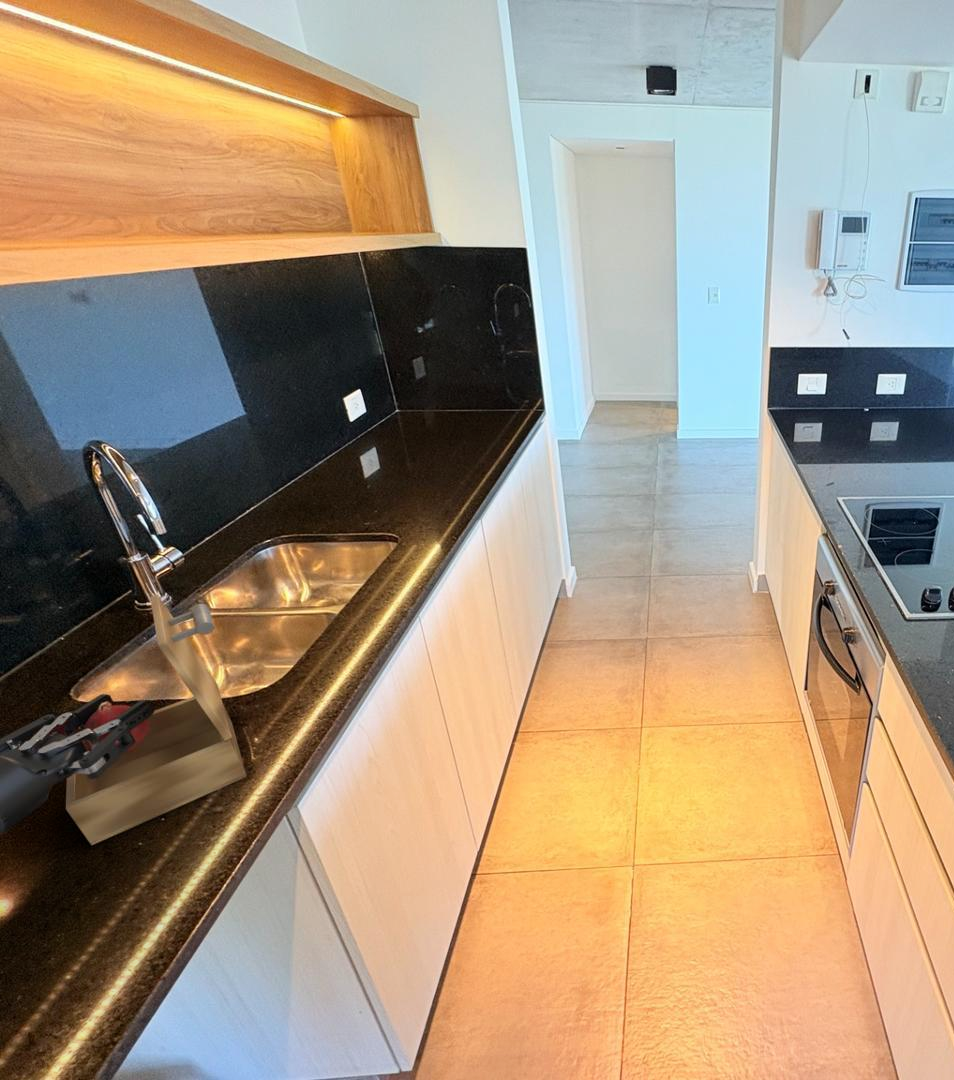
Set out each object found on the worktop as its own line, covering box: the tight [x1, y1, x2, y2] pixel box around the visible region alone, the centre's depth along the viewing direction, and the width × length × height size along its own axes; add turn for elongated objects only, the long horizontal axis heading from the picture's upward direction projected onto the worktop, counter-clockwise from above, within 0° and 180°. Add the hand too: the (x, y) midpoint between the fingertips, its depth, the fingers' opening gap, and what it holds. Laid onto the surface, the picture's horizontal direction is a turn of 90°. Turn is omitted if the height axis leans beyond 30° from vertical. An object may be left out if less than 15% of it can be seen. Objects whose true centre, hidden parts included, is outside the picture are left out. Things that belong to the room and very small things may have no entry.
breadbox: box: [65, 696, 247, 846], centre depth 82 cm, size 16×14×7 cm
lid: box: [149, 593, 232, 740], centre depth 81 cm, size 16×14×5 cm
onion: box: [82, 702, 149, 754], centre depth 77 cm, size 6×6×8 cm
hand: (129, 702), depth 78 cm, fingers closed on onion, 5 cm apart
